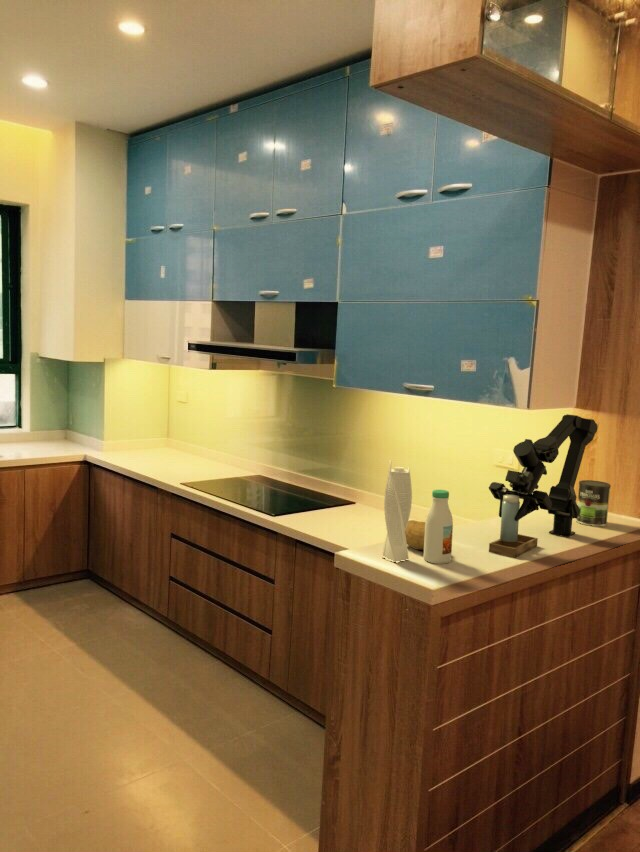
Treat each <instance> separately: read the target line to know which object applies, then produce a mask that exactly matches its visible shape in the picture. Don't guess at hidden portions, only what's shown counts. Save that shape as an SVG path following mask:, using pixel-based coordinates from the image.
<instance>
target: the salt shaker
mask: <svg viewBox="0 0 640 852" xmlns="http://www.w3.org/2000/svg"><path fill="white" fill-rule="evenodd" d="M520 504H521V501H520V499H519V496H516V495H503V500H502V515H501V517H500V518H501V520H500V533H499V534H500V535H499V539H501V540H503V541H507V542H515V541H517V540H518V534H519V525H520V523H519V521H520V520H518V521H515V517H516V514H517V512H518V511H519V509H520V507H521V505H520Z"/></svg>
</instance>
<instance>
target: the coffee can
mask: <svg viewBox="0 0 640 852" xmlns="http://www.w3.org/2000/svg"><path fill="white" fill-rule="evenodd" d="M611 487H612V486H611V484H610V483H608V482H604V481H599V480H589V479H587V480H586V479H585V480H583V479H582V480H579V481H578V493H577V494H578V496H577V505H578V507H579V509H580V513H579V517H578V518H575V522H576V521H577V522H576V523H578V524H580V523H581V524H580V525H583V524H585V525H584V526H588V525H592V526H591V527H605V526H607V525H608V515H609V513H608V512H609V503H610V494H611V493H610V492H611V491H610V490H611Z"/></svg>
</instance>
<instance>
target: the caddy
mask: <svg viewBox="0 0 640 852" xmlns="http://www.w3.org/2000/svg"><path fill="white" fill-rule="evenodd" d="M488 545H489V546H488V553H492V554H496V555H500V556H505V557H510V558H514V559H515V558H517V557H519V556H521V555H524V554H525V553H528V552H529V551H531V550H533V549H535V548H538V537H535V536H530V535H529V536H528V535H525V534H521V533H518V540H517V541H515V542H507V541H503V540H501V539H500V538H497V539H496V540H494V541H492V542H490V543H489V544H488Z"/></svg>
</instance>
